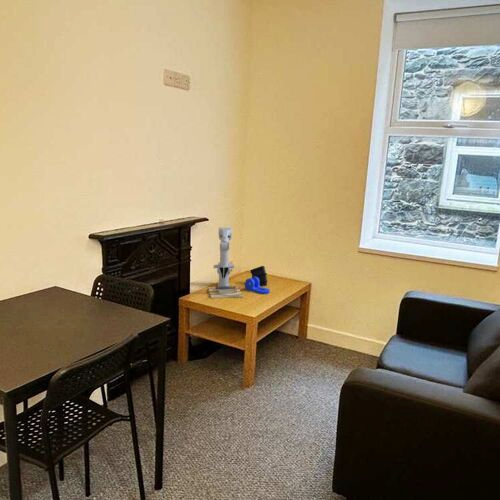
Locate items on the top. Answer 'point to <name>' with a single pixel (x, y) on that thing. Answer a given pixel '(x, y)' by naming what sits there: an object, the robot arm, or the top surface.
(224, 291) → the heat sink
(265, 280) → the black rectangular slab
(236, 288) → the lugs
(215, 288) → the retention strap
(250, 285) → the bracket
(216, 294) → the board
